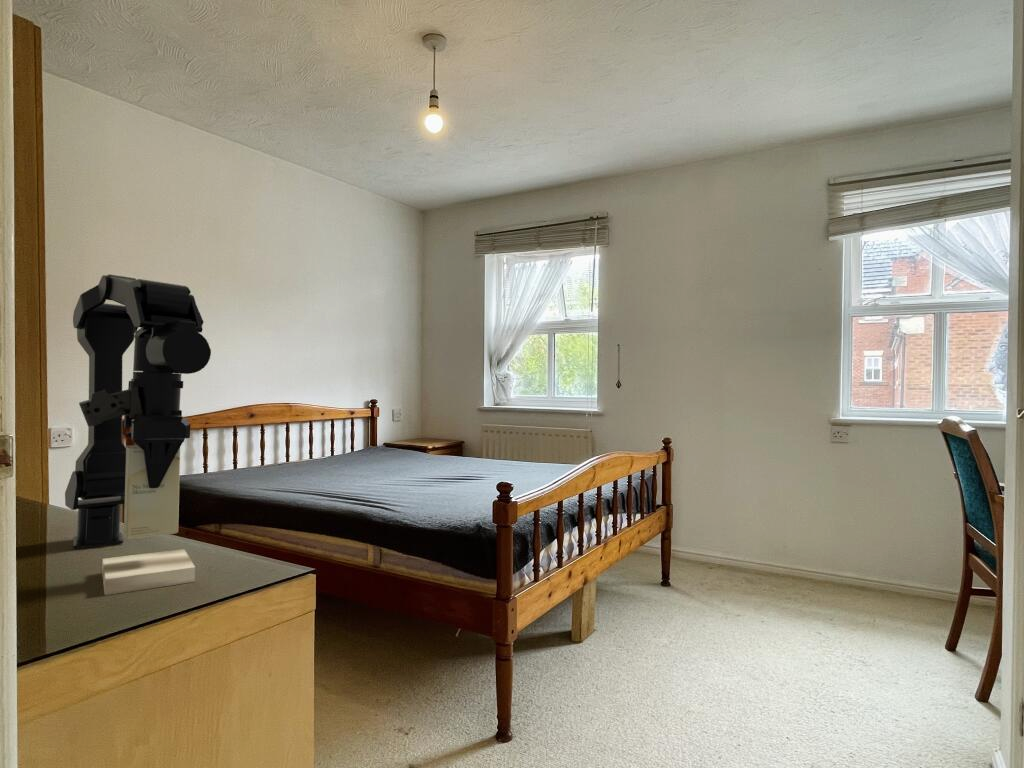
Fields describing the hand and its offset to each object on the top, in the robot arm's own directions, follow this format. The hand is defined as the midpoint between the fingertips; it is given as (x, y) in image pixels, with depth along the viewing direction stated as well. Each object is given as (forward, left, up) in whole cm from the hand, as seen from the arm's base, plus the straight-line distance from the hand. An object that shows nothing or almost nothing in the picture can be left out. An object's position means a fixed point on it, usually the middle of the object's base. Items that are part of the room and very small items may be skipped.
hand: (152, 485), depth 79 cm
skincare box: (0, 0, -7) cm, 7 cm away
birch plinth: (0, 0, -13) cm, 13 cm away
